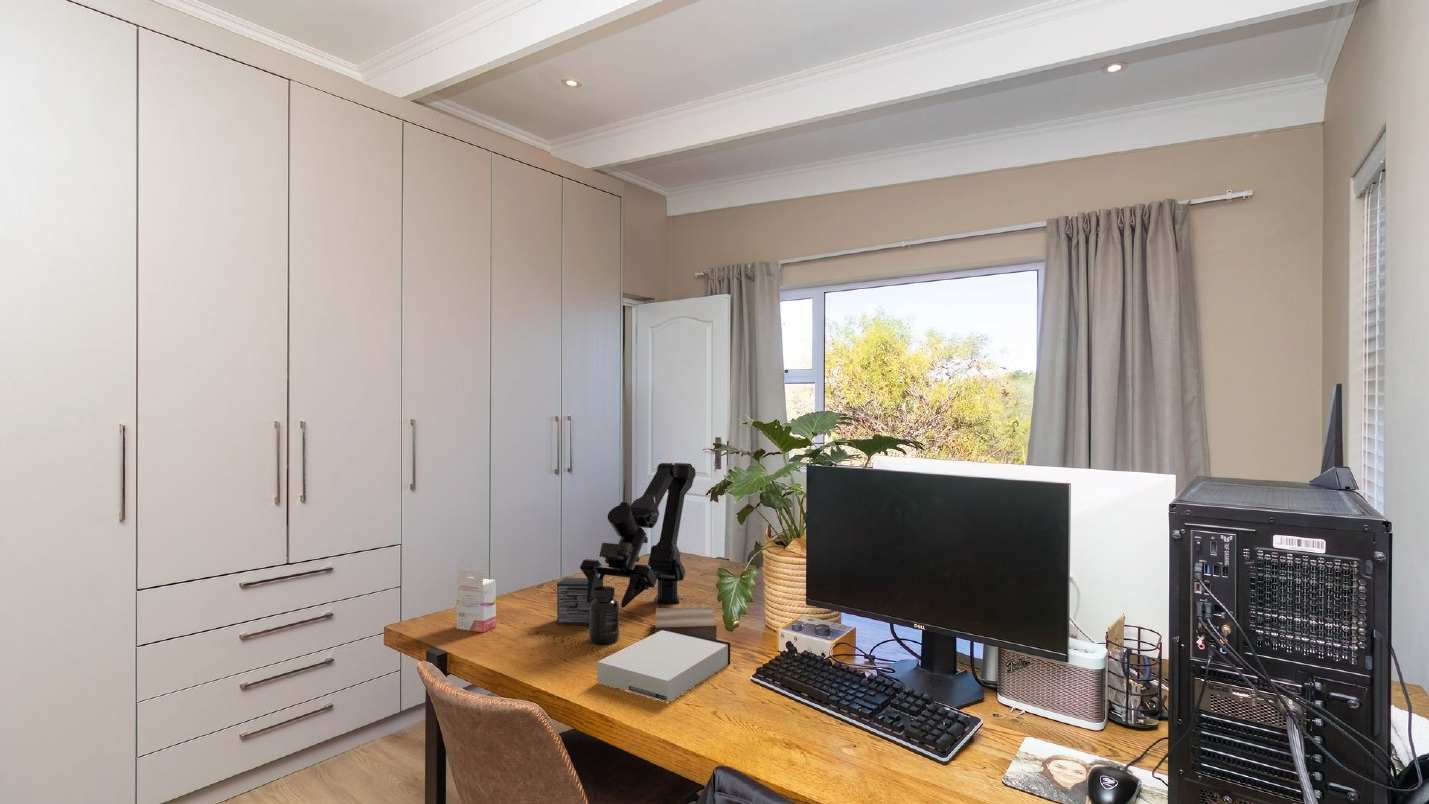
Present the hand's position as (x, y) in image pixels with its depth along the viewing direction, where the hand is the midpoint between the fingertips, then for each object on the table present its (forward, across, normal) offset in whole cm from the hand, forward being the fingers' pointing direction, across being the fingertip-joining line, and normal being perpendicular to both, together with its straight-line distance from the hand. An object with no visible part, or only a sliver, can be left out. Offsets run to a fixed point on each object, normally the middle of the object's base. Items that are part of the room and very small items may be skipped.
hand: (604, 604), depth 158 cm
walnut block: (-2, +16, +14) cm, 21 cm away
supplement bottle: (+6, 0, +6) cm, 8 cm away
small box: (0, -13, +12) cm, 18 cm away
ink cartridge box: (+10, -34, +2) cm, 35 cm away
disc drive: (+15, +22, -2) cm, 26 cm away
